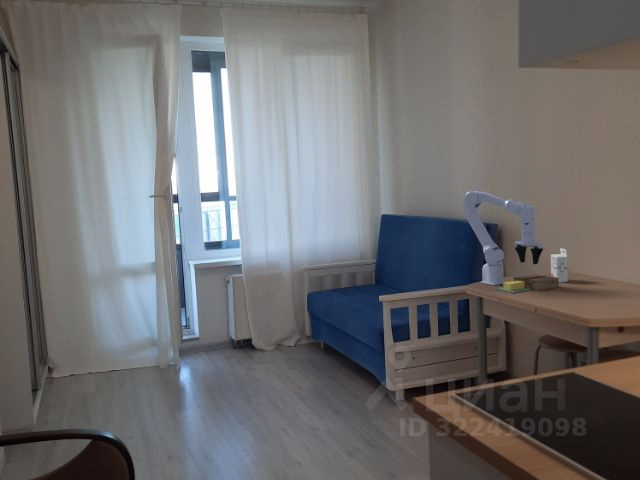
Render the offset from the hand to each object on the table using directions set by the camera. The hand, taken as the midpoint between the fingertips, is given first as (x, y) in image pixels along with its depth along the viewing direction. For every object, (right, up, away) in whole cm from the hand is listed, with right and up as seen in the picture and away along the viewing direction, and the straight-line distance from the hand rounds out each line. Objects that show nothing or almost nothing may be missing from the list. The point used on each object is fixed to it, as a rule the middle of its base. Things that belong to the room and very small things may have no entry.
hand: (529, 263), depth 276 cm
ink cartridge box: (+16, -9, +7) cm, 20 cm away
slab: (-9, -11, -8) cm, 16 cm away
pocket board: (+2, -10, -3) cm, 11 cm away
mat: (-9, -11, -8) cm, 17 cm away
